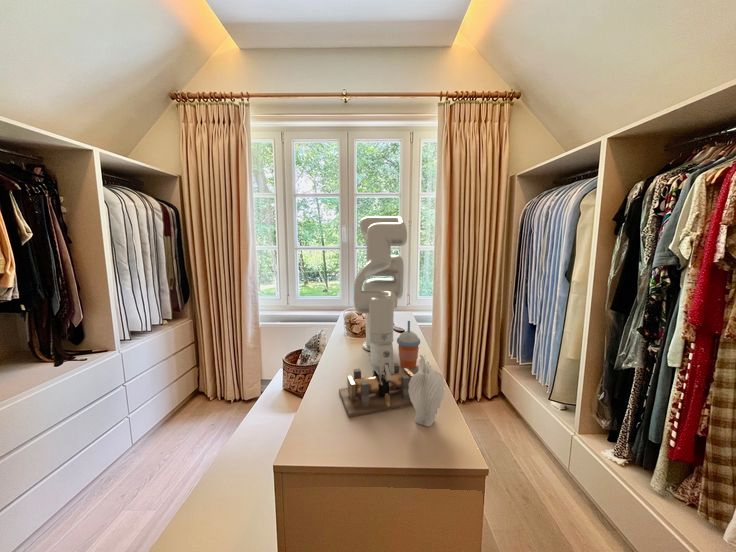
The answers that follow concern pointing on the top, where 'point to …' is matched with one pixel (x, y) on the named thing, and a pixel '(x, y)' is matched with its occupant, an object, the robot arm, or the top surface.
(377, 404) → the collar board
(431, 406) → the shell sculpture
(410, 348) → the cup with straw
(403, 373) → the copper tube
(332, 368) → the top surface
